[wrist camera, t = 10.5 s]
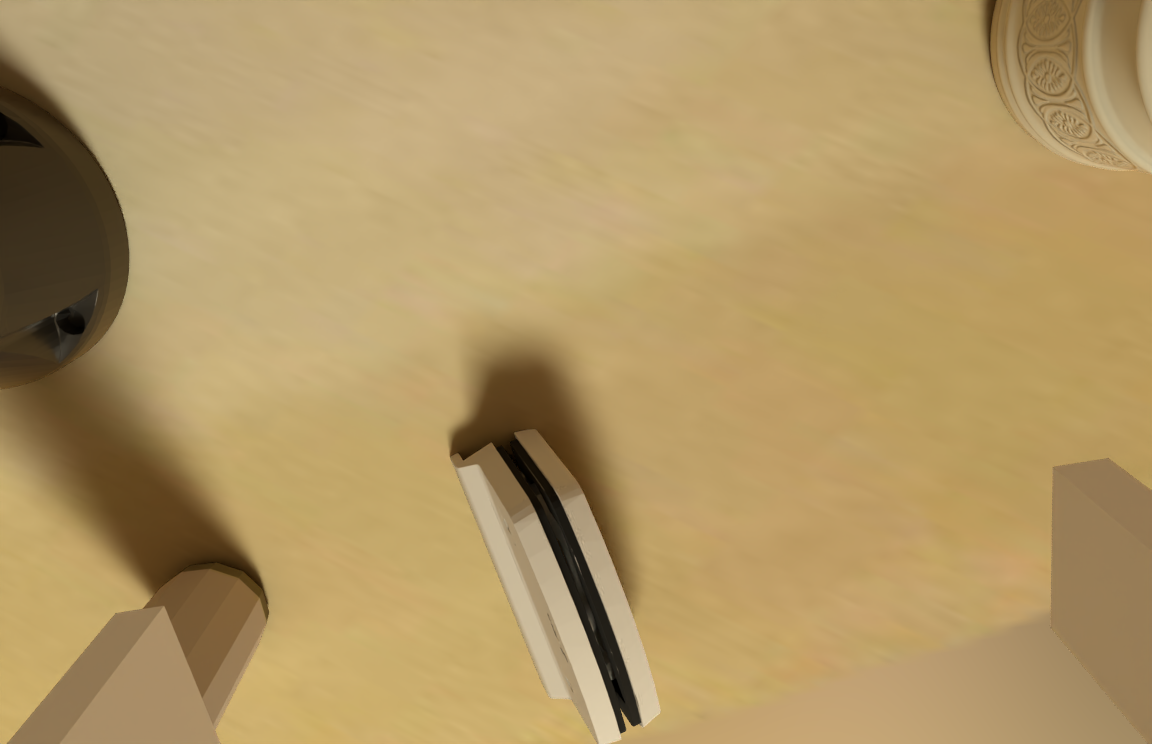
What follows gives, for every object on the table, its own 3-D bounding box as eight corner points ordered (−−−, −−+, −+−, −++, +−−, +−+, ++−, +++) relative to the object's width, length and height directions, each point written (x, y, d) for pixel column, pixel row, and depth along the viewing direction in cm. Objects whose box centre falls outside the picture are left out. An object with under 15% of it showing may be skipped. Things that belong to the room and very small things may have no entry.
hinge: (447, 450, 47) (489, 521, 38) (525, 416, 48) (585, 476, 39) (543, 686, 52) (600, 799, 43) (612, 651, 53) (682, 753, 44)
